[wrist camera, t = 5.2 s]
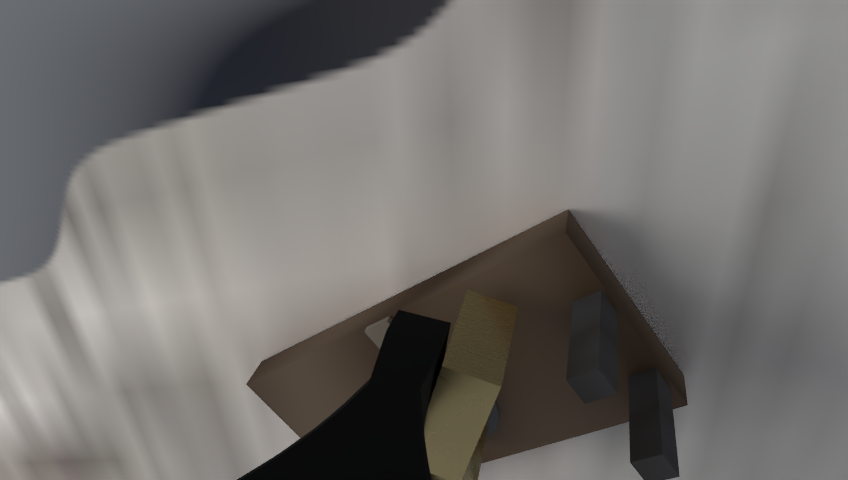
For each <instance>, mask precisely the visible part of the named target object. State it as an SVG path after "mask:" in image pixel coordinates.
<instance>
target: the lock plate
mask: <svg viewBox="0 0 848 480" xmlns="http://www.w3.org/2000/svg"><path fill="white" fill-rule="evenodd" d="M467 289H468V290H471V291H474V292H477V293H480V294H483V295H485V296H488V297H491V298H494V299H497V300H500V301H503V302H506V303H509V304H512V305H515V306H518V310H517V315H516V319H515V324H514V329H513V334H512V338H511V343H510V348H509V353H508V357H507V362H506V367H505V372H504V377H503V381H502V386H501V389H500V391H499V394H498V396H497V398H496V401H495V403H494V405H493V408H492V410H491V412H490V415H489V417H488V423H489V429H488V435H487V439H486V444H485V448H484V453H483V458H482V462H481V463H484V462H488V461H491V460H495V459H498V458H502V457H505V456H509V455H512V454H516V453H520V452H523V451H527V450H530V449H534V448H537V447H541V446H544V445H548V444H551V443H555V442H558V441H562V440H566V439H569V438H573V437H576V436H580V435H583V434H587V433H590V432H594V431H597V430H601V429H604V428H608V427H612V426H615V425H619V424H622V423H626V422H629V429H630V463H631V464H632V465H633V467H634V468H635V469H636V470H637V472H638V473H639V474H640V475H641V477H642V478H643V479H644V480H666V479H671V478H675V477H679V467H678V457H677V447H676V437H675V427H674V417H673V409H675V408H679V407H682V406H686V405H688V404H687V396H686V389H685V381H684V375H683V374H682V372H681V371H680V369H679V368H678V366H677V365H676V364H675V362H674V361H673V359H672V358H671V356H670V355H669V353H668V352H667V351H666V349H665V348H664V346H663V345H662V343H661V342H660V341H659V339H658V338H657V336H656V335H655V333H654V332H653V330H652V329H651V328H650V326H649V325H648V323H647V322H646V320H645V319H644V317H643V316H642V315H641V313H640V312H639V310H638V309H637V307H636V306H635V305H634V303H633V302H632V300H631V299H630V297H629V296H628V294H627V293H626V292H625V290H624V289H623V287H622V286H621V284H620V283H619V282H618V280H617V279H616V277H615V276H614V274H613V273H612V271H611V270H610V269H609V267H608V266H607V264H606V263H605V261H604V260H603V259H602V257H601V256H600V254H599V253H598V251H597V250H596V248H595V247H594V246H593V244H592V243H591V241H590V240H589V238H588V237H587V236H586V234H585V233H584V231H583V230H582V228H581V227H580V225H579V224H578V223H577V221H576V220H575V218H574V217H573V215H572V214H571V212H570V211H569V210H567V211H564V212H562V213H560V214H558V215H556V216H554V217H552V218H550V219H548V220H546V221H544V222H542V223H540V224H538V225H536V226H534V227H532V228H530V229H528V230H526V231H524V232H522V233H520V234H518V235H516V236H514V237H512V238H510V239H508V240H506V241H504V242H502V243H500V244H498V245H496V246H494V247H492V248H490V249H488V250H486V251H484V252H482V253H480V254H478V255H476V256H474V257H472V258H470V259H468V260H466V261H464V262H462V263H460V264H458V265H456V266H454V267H451V268H449V269H447V270H445V271H443V272H441V273H439V274H437V275H435V276H433V277H431V278H429V279H427V280H425V281H423V282H421V283H419V284H417V285H415V286H413V287H411V288H409V289H407V290H405V291H403V292H401V293H399V294H397V295H395V296H393V297H391V298H389V299H387V300H385V301H383V302H381V303H379V304H377V305H375V306H373V307H371V308H369V309H367V310H365V311H363V312H361V313H359V314H357V315H355V316H353V317H351V318H349V319H347V320H345V321H343V322H341V323H339V324H336V325H334V326H332V327H330V328H328V329H326V330H324V331H322V332H320V333H318V334H316V335H314V336H312V337H310V338H308V339H306V340H304V341H302V342H300V343H298V344H296V345H294V346H292V347H290V348H288V349H286V350H284V351H282V352H280V353H278V354H276V355H274V356H272V357H270V358H268V359H266V360H264V361H262V362H261V363H260V365H259V366H258V368H257V369H256V371H255V372H254V374H253V375H252V377H251V378H250V380H249V381H248V382H247V385H248V386H249V387H250V388H251V389H252V390H253V391H254V392H255V393H256V394H257V395H258V396H259V397H260V398H261V399H262V400H263V401H264V402H265V403H266V404H267V405H268V406H269V407H270V408H271V409H272V410H273V411H274V412H275V413H276V414H277V415H278V416H279V417H280V418H281V419H282V420H283V421H284V422H285V423H286V424H287V425H288V426H289V427H290V428H291V429H292V430H293V431H294V432H295V433H296V434H297V435H298V436H299V437H300V438H302V437H303V436H304V435H306V434H307V433H309V432H310V431H311V430H313V429H314V428H315V427H316V426H318V425H319V424H320V423H321V422H323V421H324V420H325V419H326V418H328V417H329V416H330V415H331V414H332V413H334V412H335V411H336V410H337V409H338V408H339V407H340V406H342V405H343V404H344V403H345V402H346V401H347V400H348V399H349V398H350V397H351V396H352V395H353V394H354V393H355V392H357V391H358V390H359V389H360V388H361V387H362V386H363V385H364V384H365V383H366V382H367V381H368V380H369V379H370V378H371V375H372V372H373V369H374V366H375V363H376V360H377V357H378V354H379V351H380V348H381V345H382V342H383V339H384V336H385V333H386V330H387V329H388V327H389V325H390V323H391V321H392V320H393V318H394V316H395V315H396V313H397V311H398V310H402V311H406V312H410V313H414V314H418V315H422V316H426V317H430V318H434V319H438V320H442V321H446V322H450V323H451V325H450V331H449V336H448V341H447V346H446V352H447V349H448V346H449V343H450V340H451V337H452V334H453V331H454V328H455V325H456V322H457V319H458V316H459V313H460V310H461V307H462V303H463V300H464V297H465V294H466V291H467ZM446 352H445V355H446ZM444 358H445V357H444Z"/></svg>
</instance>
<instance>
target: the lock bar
mask: <svg viewBox="0 0 848 480" xmlns="http://www.w3.org/2000/svg"><path fill="white" fill-rule="evenodd" d="M517 310H518V306H515V305H512V304H509V303H506V302H503V301H500V300H497V299H494V298H491V297H488V296H485V295H483V294H480V293H477V292H474V291H471V290H468V289H467V291H466V294H465V297H464V300H463V303H462V307H461V310H460V313H459V316H458V319H457V322H456V325H455V328H454V331H453V334H452V337H451V340H450V343H449V346H448V349H447V352H446V355H445V358H444V361H443V364H442V367H441V370H440V373H439V376H438V379H437V382H436V385H435V388H434V391H433V394H432V397H431V400H430V403H429V406H428V409H427V414H426V420H425V425H424V435H425V443H426V450H427V457H428V463H429V469H430V474H431V479H432V480H478V476H479V472H480V467H481V462H482V458H483V453H484V448H485V444H486V439H487V435H488V429H489V423H488V417H489V415H490V412H491V410H492V408H493V405H494V403H495V401H496V398H497V396H498V394H499V391H500V389H501V386H502V381H503V377H504V372H505V367H506V362H507V357H508V353H509V348H510V343H511V338H512V334H513V329H514V324H515V319H516V315H517Z"/></svg>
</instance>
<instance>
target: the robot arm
mask: <svg viewBox="0 0 848 480" xmlns="http://www.w3.org/2000/svg"><path fill="white" fill-rule="evenodd" d="M450 325H451V323H450V322H446V321H442V320H438V319H434V318H430V317H426V316H422V315H418V314H414V313H410V312H406V311H402V310H398V311H397V313H396V315H395V316H394V318H393V320H392V321H391V323H390V325H389V327H388V329H387V330H386V333H385V336H384V339H383V342H382V345H381V348H380V351H379V354H378V357H377V360H376V363H375V366H374V369H373V372H372V375H371V378H370V379H369V380H368V381H367V382H366V383H365V384H364V385H363V386H362V387H361V388H360V389H359V390H358V391H357V392H355V393H354V394H353V395H352V396H351V397H350V398H349V399H348V400H347V401H346V402H345V403H344V404H343V405H342V406H340V407H339V408H338V409H337V410H336V411H335V412H334V413H332V414H331V415H330V416H329V417H328V418H326V419H325V420H324V421H323V422H321V423H320V424H319V425H318V426H316V427H315V428H314V429H313V430H311V431H310V432H309V433H307V434H306V435H304V436H303V437H302V438H300V439H299V440H298V441H296V442H295V443H294V444H292V445H291V446H289V447H288V448H287V449H285V450H284V451H282V452H281V453H279V454H278V455H276V456H275V457H273V458H272V459H270V460H268V461H267V462H265V463H263V464H262V465H260V466H258V467H257V468H255V469H254V470H252V471H250V472H249V473H247V474H245V475H244V476H242V477H240V478H239V479H237V480H432V479H431V474H430V469H429V463H428V457H427V450H426V443H425V435H424V425H425V420H426V414H427V409H428V406H429V403H430V400H431V397H432V394H433V391H434V388H435V385H436V382H437V379H438V376H439V373H440V370H441V367H442V364H443V361H444V357H445V352H446V346H447V341H448V336H449V331H450Z"/></svg>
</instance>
